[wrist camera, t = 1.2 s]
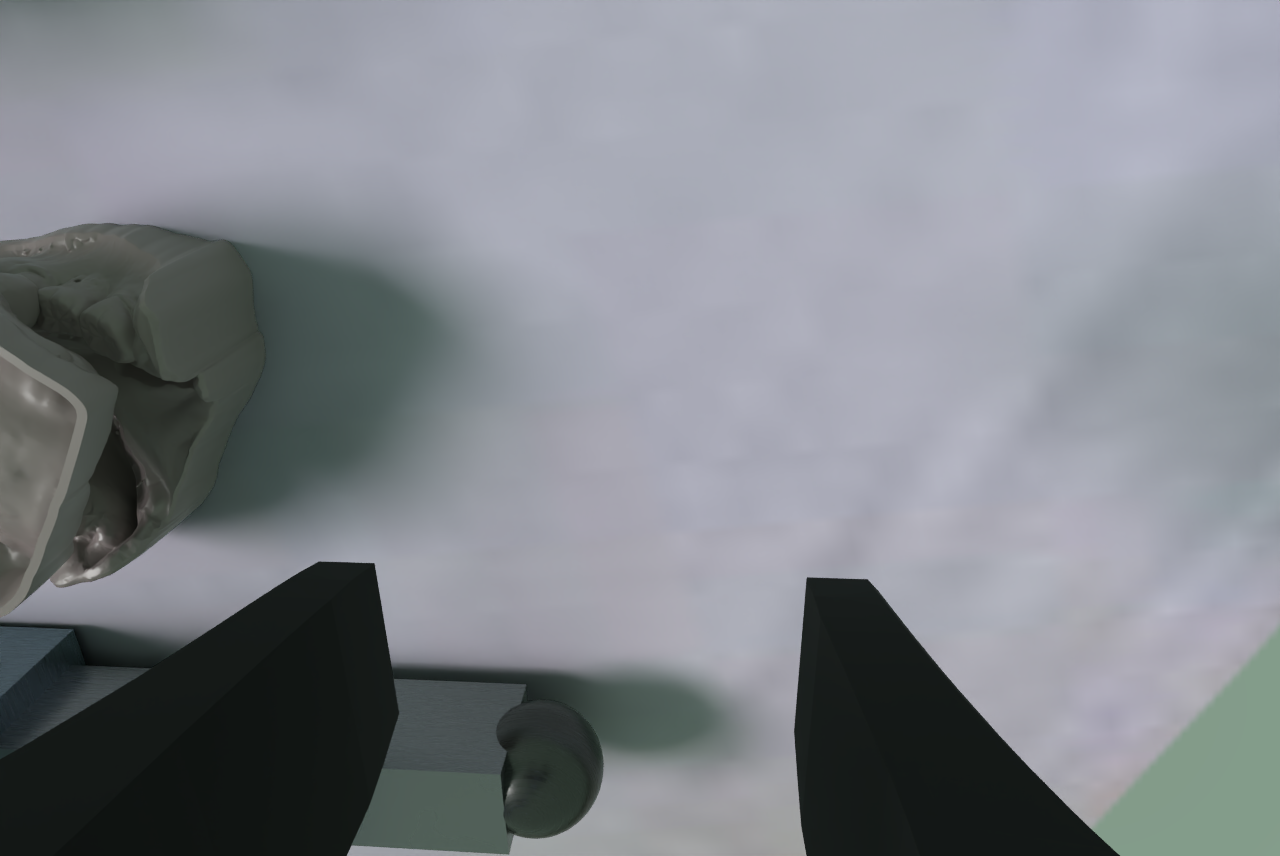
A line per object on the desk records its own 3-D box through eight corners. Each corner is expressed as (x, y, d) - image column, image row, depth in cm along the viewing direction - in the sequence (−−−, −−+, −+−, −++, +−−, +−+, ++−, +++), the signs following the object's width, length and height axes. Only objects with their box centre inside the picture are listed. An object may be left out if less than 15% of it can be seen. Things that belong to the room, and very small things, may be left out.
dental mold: (32, 91, 17) (-224, 112, 12) (333, 318, 18) (206, 412, 13) (-104, 381, 19) (-351, 486, 15) (166, 556, 21) (15, 699, 16)
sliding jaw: (613, 774, 22) (581, 1011, 17) (-251, 730, 24) (-532, 933, 19) (609, 647, 21) (572, 865, 15) (-320, 610, 22) (-652, 794, 17)
